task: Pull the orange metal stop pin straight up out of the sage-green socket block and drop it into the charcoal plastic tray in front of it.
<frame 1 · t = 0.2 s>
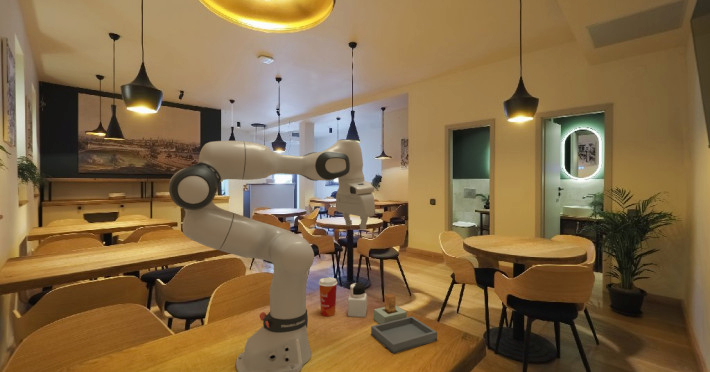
hand: (355, 227, 111), 39 cm above the table, tool pointing down, fingers open, 8 cm apart
socket block: (390, 320, 125), on the table
paper cup: (328, 314, 132), on the table
medicine bottle: (357, 313, 132), on the table
tray: (403, 337, 113), on the table
stop pin: (390, 308, 125), in the socket block
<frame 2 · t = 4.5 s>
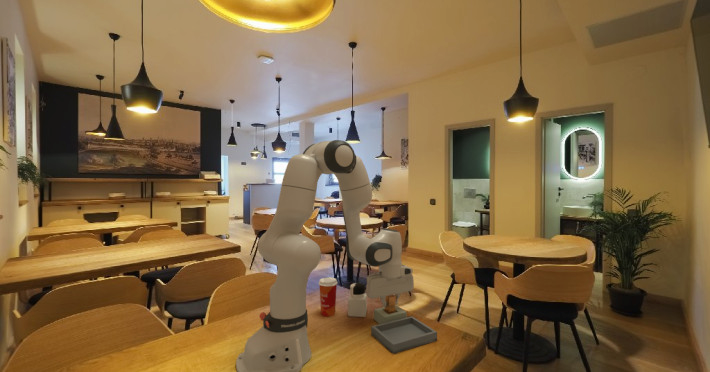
hand: (390, 305, 125), 6 cm above the table, tool pointing down, fingers closed on stop pin, 3 cm apart
stop pin: (390, 308, 125), in the socket block, touching gripper
everything else where it was.
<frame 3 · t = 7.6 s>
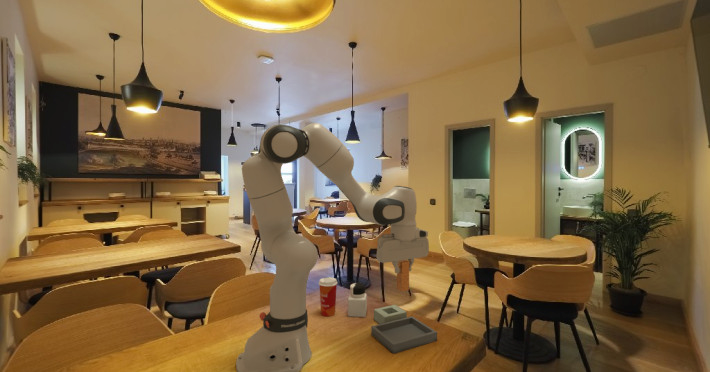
hand: (403, 271, 112), 23 cm above the table, tool pointing down, fingers closed on stop pin, 3 cm apart
stop pin: (403, 275, 112), point 22 cm above the table, touching gripper
everything else where it was.
when the fingers open (9 cm above the table, at t = 11.1 s): stop pin drops 2 cm, resting on tray.
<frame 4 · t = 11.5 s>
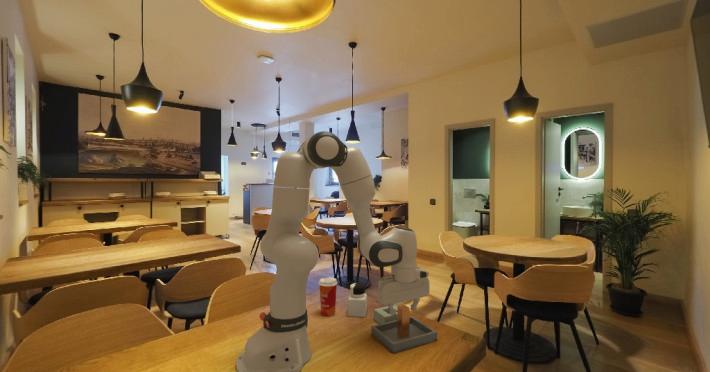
hand: (403, 312, 112), 9 cm above the table, tool pointing down, fingers open, 7 cm apart
stop pin: (403, 321, 112), in the tray, point 6 cm above the table
everything else where it was.
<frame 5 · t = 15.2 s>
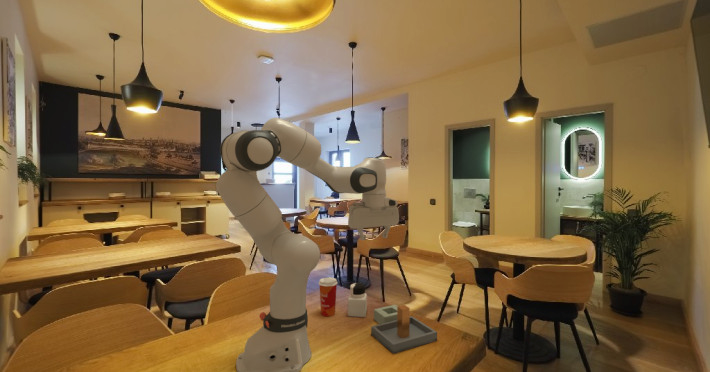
hand: (374, 238, 120), 33 cm above the table, tool pointing down, fingers open, 8 cm apart
nothing on the table moved.
at the end: stop pin inside the target area on the tray (0.1 cm from its centre), point 5.8 cm above the tray's base; the gripper is holding nothing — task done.
